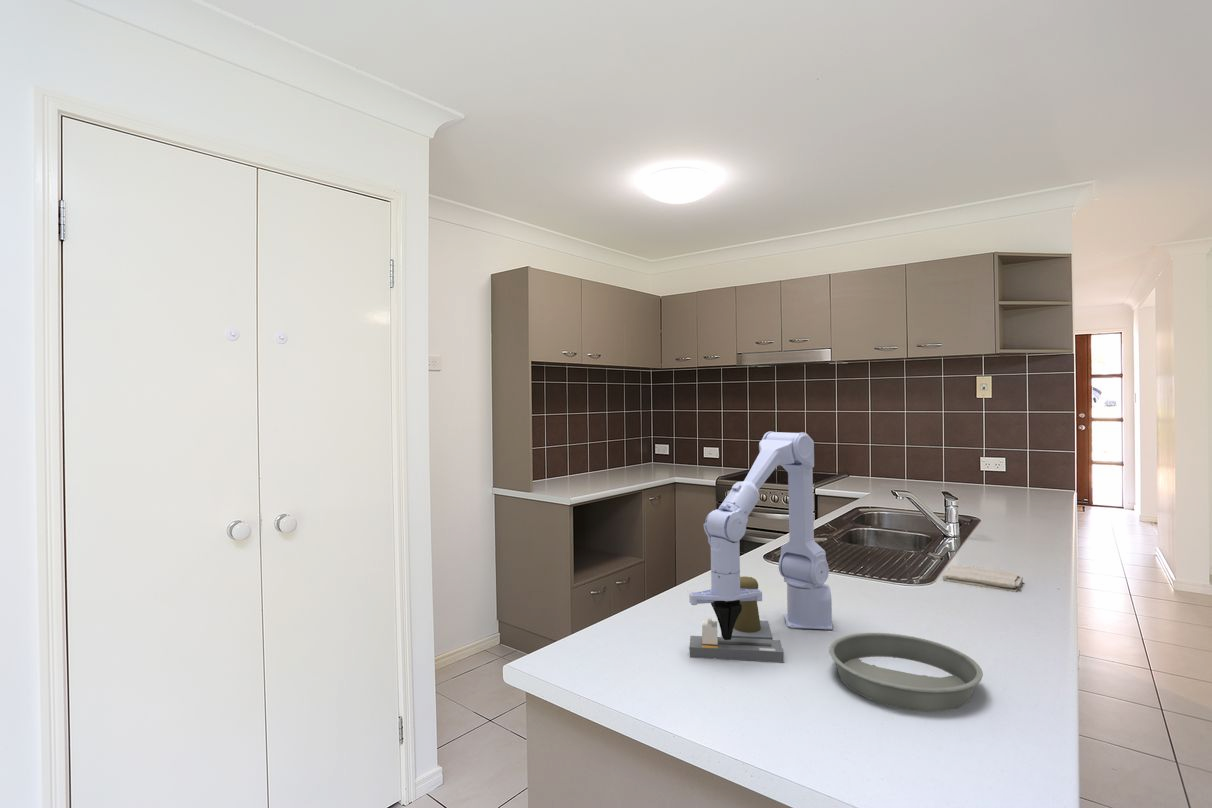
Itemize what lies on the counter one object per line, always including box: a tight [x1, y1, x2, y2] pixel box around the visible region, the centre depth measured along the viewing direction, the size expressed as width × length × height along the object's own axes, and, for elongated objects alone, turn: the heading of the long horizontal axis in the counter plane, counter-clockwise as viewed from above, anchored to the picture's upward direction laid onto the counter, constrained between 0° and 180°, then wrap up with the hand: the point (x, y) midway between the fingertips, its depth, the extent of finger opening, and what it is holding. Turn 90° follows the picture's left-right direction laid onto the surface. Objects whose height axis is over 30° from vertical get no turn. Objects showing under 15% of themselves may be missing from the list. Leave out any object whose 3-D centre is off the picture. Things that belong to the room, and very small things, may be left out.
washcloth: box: [942, 564, 1024, 593], centre depth 167 cm, size 12×18×3 cm, turn 51°
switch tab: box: [701, 617, 719, 645], centre depth 123 cm, size 3×4×4 cm
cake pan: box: [828, 632, 984, 712], centre depth 109 cm, size 25×25×4 cm
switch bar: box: [689, 635, 785, 663], centre depth 122 cm, size 18×6×2 cm, turn 80°
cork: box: [734, 576, 761, 633], centre depth 134 cm, size 6×6×11 cm
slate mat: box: [731, 619, 774, 640], centre depth 134 cm, size 10×10×1 cm
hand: (726, 638), depth 122 cm, fingers closed
